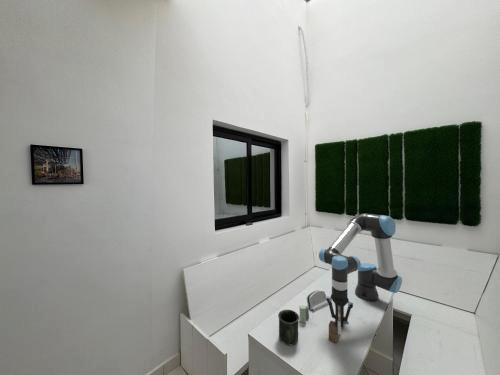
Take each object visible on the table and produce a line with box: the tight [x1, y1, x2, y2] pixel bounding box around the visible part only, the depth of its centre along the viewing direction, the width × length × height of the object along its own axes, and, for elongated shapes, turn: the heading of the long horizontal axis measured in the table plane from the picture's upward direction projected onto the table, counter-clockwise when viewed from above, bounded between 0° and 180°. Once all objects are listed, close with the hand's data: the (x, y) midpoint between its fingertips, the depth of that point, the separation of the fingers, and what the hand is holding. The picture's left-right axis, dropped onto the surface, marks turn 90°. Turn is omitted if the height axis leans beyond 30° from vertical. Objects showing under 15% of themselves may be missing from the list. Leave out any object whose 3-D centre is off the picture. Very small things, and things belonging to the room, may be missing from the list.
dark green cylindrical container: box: [277, 309, 300, 346], centre depth 107 cm, size 11×15×12 cm
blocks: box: [299, 305, 310, 323], centre depth 121 cm, size 6×6×8 cm
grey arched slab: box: [306, 290, 329, 313], centre depth 135 cm, size 17×5×10 cm, turn 122°
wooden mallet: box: [328, 311, 341, 344], centre depth 111 cm, size 18×4×8 cm, turn 144°
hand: (339, 332), depth 103 cm, fingers closed
